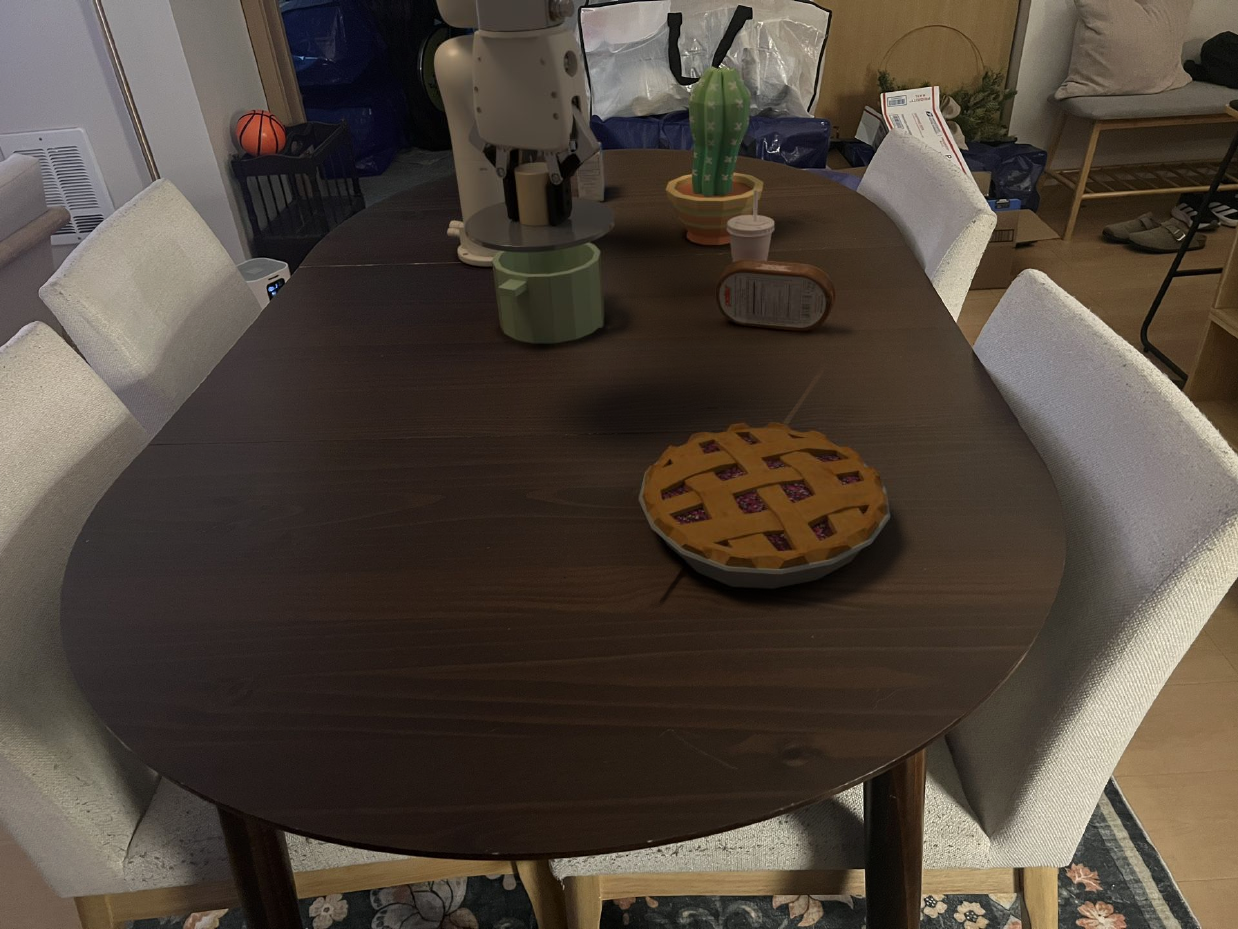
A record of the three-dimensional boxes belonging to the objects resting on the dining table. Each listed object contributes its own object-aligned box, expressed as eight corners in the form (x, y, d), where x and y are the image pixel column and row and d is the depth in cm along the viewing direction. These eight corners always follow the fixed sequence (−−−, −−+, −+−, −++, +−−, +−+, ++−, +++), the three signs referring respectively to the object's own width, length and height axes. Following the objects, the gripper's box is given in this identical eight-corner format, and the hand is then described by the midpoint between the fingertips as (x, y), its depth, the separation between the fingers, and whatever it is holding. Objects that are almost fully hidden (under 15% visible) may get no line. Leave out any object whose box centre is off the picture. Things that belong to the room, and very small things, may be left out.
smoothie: (770, 299, 125) (774, 197, 118) (723, 298, 127) (724, 197, 119) (773, 281, 131) (777, 182, 123) (728, 280, 132) (729, 182, 124)
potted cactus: (783, 236, 146) (791, 67, 132) (707, 260, 139) (708, 84, 125) (720, 213, 157) (722, 54, 143) (647, 234, 150) (641, 70, 136)
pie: (604, 491, 89) (601, 448, 86) (798, 436, 96) (800, 394, 93) (711, 634, 72) (711, 585, 69) (937, 554, 79) (945, 507, 76)
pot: (469, 345, 118) (458, 275, 113) (546, 291, 132) (539, 226, 127) (560, 363, 113) (554, 290, 107) (630, 304, 126) (627, 237, 121)
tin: (833, 326, 117) (838, 263, 113) (829, 337, 115) (834, 273, 110) (718, 315, 122) (718, 254, 117) (712, 325, 120) (712, 263, 115)
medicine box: (603, 202, 165) (600, 152, 160) (578, 203, 165) (575, 154, 161) (604, 188, 172) (602, 141, 167) (581, 190, 172) (577, 142, 167)
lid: (436, 247, 89) (425, 183, 86) (518, 200, 100) (512, 142, 96) (568, 267, 83) (562, 199, 80) (640, 215, 94) (638, 154, 90)
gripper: (624, 8, 80) (632, 215, 90) (466, 5, 87) (490, 197, 97) (582, 23, 74) (596, 241, 85) (417, 17, 81) (448, 220, 91)
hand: (539, 216), depth 91 cm, fingers closed on lid, 4 cm apart
